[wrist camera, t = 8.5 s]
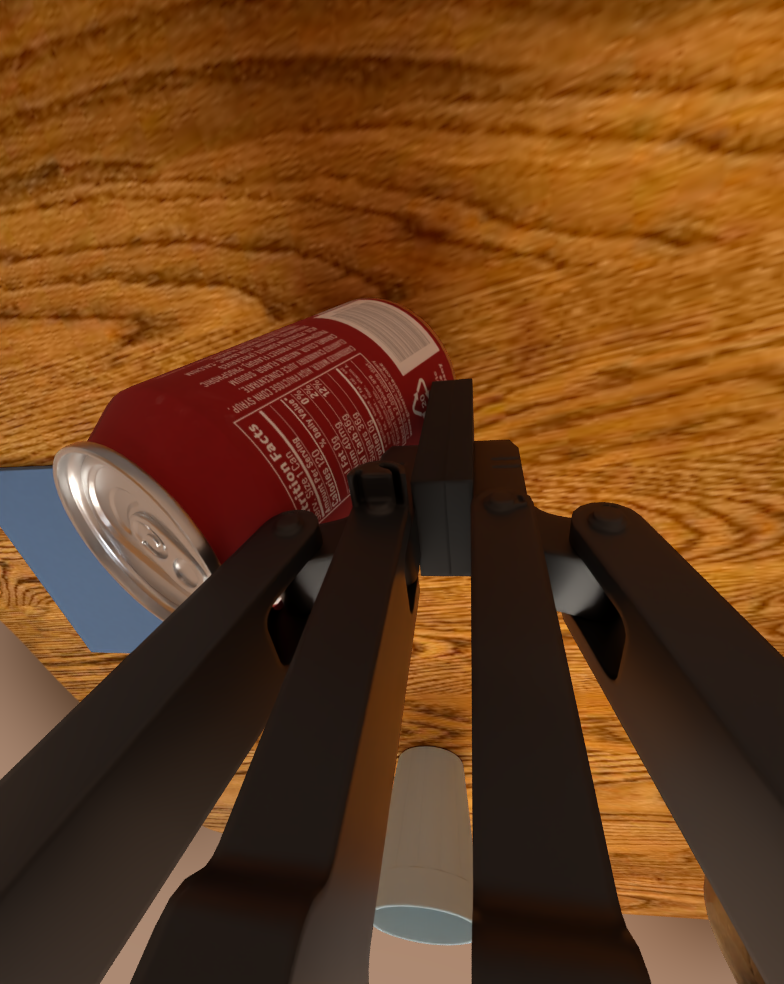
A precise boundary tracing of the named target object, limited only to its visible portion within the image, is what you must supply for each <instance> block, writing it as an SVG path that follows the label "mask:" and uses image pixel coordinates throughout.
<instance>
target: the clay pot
mask: <svg viewBox="0 0 784 984" xmlns="http://www.w3.org/2000/svg"><path fill="white" fill-rule="evenodd" d="M704 899H705V905H706V910H707V915H708V918H709V922H710V925H711V928H712V930H713V933H714V935H715V938H716V940H717V942H718V945H719V947H720V949H721V951H722V954H723V956H724V958H725V960H726V962H727V964H728V966H729V968H730V970H731V972H732V974H733V976H734V978H735V980H736V982H737V984H766V983H765V982H764V980H763V978H762V976H761V974H760V973H759V971H758V969H757V967H756V965H755V964H754V962H753V960H752V958H751V956H750V955H749V953H748V951H747V949H746V947H745V946H744V944H743V942H742V940H741V938H740V937H739V935H738V933H737V931H736V929H735V928H734V926H733V924H732V922H731V920H730V919H729V917H728V915H727V913H726V911H725V910H724V908H723V906H722V904H721V902H720V901H719V899H718V897H717V895H716V893H715V892H714V890H713V888H712V886H711V884H710V883H709V881H708V879H707V877H706V875H705V879H704Z"/></svg>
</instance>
